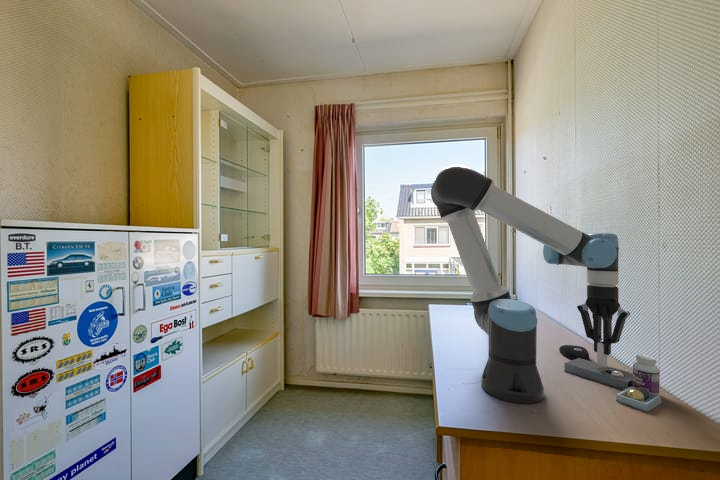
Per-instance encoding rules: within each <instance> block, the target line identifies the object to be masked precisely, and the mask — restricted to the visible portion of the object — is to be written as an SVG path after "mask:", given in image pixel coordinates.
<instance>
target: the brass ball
mask: <svg viewBox="0 0 720 480" xmlns="http://www.w3.org/2000/svg"><path fill="white" fill-rule="evenodd" d="M627 396H628V398H631V399H634V400H637V401H640V402H643V401H644V396H643V394H642V393H641V392H640V391H639V390H636V389H630V390H629V391H628V392H627Z"/></svg>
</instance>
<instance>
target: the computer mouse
mask: <svg viewBox="0 0 720 480" xmlns="http://www.w3.org/2000/svg"><path fill="white" fill-rule="evenodd" d="M558 351H559V353H560V354H561V355H562V356H563V357H565V358H566V359H568V360H569V361H572V360H575V359H577V358H581V359H584V360H588V361H590V353H589V351H588V349H586V347H583V346H580V345H575V344H574V345H573V344H572V343H570V344H564V345H560V346H559V349H558Z"/></svg>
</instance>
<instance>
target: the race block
mask: <svg viewBox="0 0 720 480" xmlns="http://www.w3.org/2000/svg"><path fill="white" fill-rule="evenodd" d="M613 371H619V372H621V373H622V374H623V375H624V376H615V375H611V373H612V372H613ZM564 372H567V373H570V374H573V375H577V376H579V377H582V378H584V379H589V380H591V381H595V382H598V383H601V384H604V385H607V386H610V387H613V388H615V389H619V390H622V391H624V390H626V389H628V388H630V387H633V372H630V371H627V370H622V369H619V368H616V367H613V366H609V365H605V366H601V365H597V362H594V361H591V360H589V361H588V360H584V359H581V358H577V359H575V360H568V361H566V362H564Z"/></svg>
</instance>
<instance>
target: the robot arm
mask: <svg viewBox="0 0 720 480" xmlns="http://www.w3.org/2000/svg"><path fill="white" fill-rule="evenodd" d="M430 196H431V197H430V198H431V200H432V203H433V204H434V205H435V206H436V208H437V211H438V213H439V216H440V219H441V220H442V221H444V222H446V223H447V224H448V227H449V229H450V230H449V231H450V232H451V235H452V239H453V241H454V244H455V246H456V249H457V252H458V255H459V257H460V261H461V263H462V266H463V268H464V273H465V274H466V277H467V280H468V282H469V285H470V287H471V291H472V295H471V297H470V299H469V300H470V302H471V305H472V309H473V315H474V320H475V322H476V324H477V326H478V327H479V328H480V329H481V330H482V331H483V332H485V334H487V336H488V357H487V362H486V363H485V367H484V369H483V372H482V375H481V388H482V389H483V390H484V391H485V392H486V393H487V394H489V395H490V396H493V397H495V398H497V399H500V400H503V401H506V402H511V403H516V404H536V403H539V402H541V401H543V400H544V397H545V392H544V391H545V388H544V385H543V381H542V378H541V375H540V372H539V369H538V366H537V334H538V333H537V330H538V329H537V326H538V318H537V311H536V308H535V307H534V306H533V305H532V304H530V303H527V302H525V301H520V300H518V299H512V296H511V294H510V292H509V289H508V287H505V286H504V285H503V286H502V284H501V283H500V280H499V277H498V274H497V271H496V269H495V268H496V267H495V266H494V263H493V261H492V258H491V254H490V253H489V249H488V247H487V244H486V241H485V238H484V235H483V233H482V230H481V228H480V225H479V221H478V219H477V217H476V214H475V212H476V211H481V212H482V213H485V214H487V215H488V216H490V217H492V218H494V219H496V220H497V221H499V222H501V223H503V224H506V225H507V226H509V227H511V228H513V229H514V230H516V231H519V232H520V233H522V234H524V235H526V236H527V237H529V238H531V239H533V240H535V241H537V242H538V243H541V244H542V245H543V250H542V255H543V259H544V261H545V262H546V263H547V264H549V265H557V266H559V265H565V266H566V265H567V266H575V267H583V268H586V283H588V284H587V285H586V300H585V302H584V303H582V304H579V305H577V306H576V308H577V311H579V313H580V316H581V321H582V324H583V327H584V332H585V335H586V337H587V338H588V339H591V341H592V342H593V351H594V352H595V353H597V354H596V355H597V359H596V361H597V362H596V363H597V365H601V366H605V365H606V366H608V356H610V355H611V354H612V344H617V343H619V341H620V340H621V336H622V332H623V329H624V326H625V324H626V320H627V319H628V318H629V316H630V315H631V312H630V311H626V310H625V309H623V308H622V307H621V304H620V303H619V302H620V301H619V287H618V285H619V250H620V247H619V245H620V244H619V238H618V235H617V234H615V233H611V232H608V233H606V232H604V233H603V232H602V233H601V232H600V233H588V234H587V233H585V232H583V231H581V230H579V229H577V228H575V227H574V226H571V225H570V224H568V223H566V222H564V221H562V220H560V219H559V218H556V217H555V216H552V215H551V214H549V213H547V212H545V211H543V210H541V209H539V208H537V207H535V206H534V205H532V204H530V203H528V202H526V201H524V200H522V199H520V198H519V197H517V196H515V195H513V194H512V193H509V192H508V191H506V190H503V189H501V188H500V187H498V186H496V184H495V182H494V180H493V179H491V178H490V177H487V176H486V175H484V174H482V173H480V172H478V171H476V170H474V169H472V168H470V167H468V166H465V165H462V164H461V165H460V164H454V165H449V166H447V167H444V168H443V169H441V170H440V172H438V174H437V176H436V177H435V180H434V181H433V183H432V185H431V189H430ZM589 311H590V312H591V313H592V315H591V316H592V320H591V316H590V312H589ZM615 314H616V315H617V316H618V317H617V318H616V320H615V325H614V328H612V326H613V325H612V324H613V316H614V315H615ZM602 328H603V329H602ZM612 329H613V330H612ZM612 331H613V332H612ZM602 333H603V334H602Z"/></svg>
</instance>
